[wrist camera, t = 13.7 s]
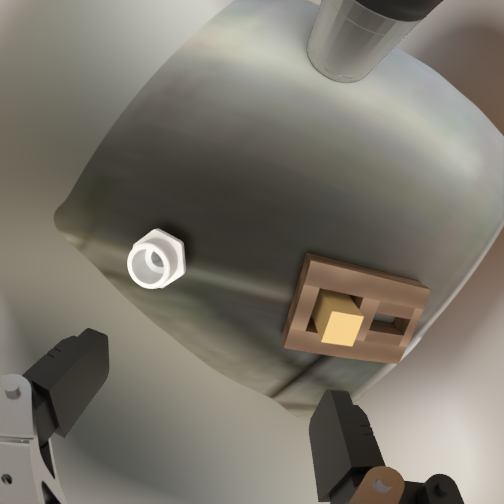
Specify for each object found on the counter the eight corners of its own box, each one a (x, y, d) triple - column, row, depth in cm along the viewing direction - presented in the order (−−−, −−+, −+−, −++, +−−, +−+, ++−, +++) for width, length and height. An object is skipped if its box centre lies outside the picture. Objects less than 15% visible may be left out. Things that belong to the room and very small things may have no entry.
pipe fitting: (138, 244, 37) (110, 258, 29) (178, 216, 36) (155, 224, 28) (163, 282, 38) (141, 305, 30) (204, 256, 37) (189, 275, 29)
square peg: (319, 286, 37) (332, 311, 30) (346, 291, 37) (364, 316, 30) (310, 312, 38) (321, 342, 31) (337, 317, 38) (352, 346, 31)
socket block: (306, 252, 36) (311, 260, 32) (417, 280, 37) (430, 289, 33) (282, 332, 39) (283, 347, 35) (389, 350, 39) (398, 363, 35)
